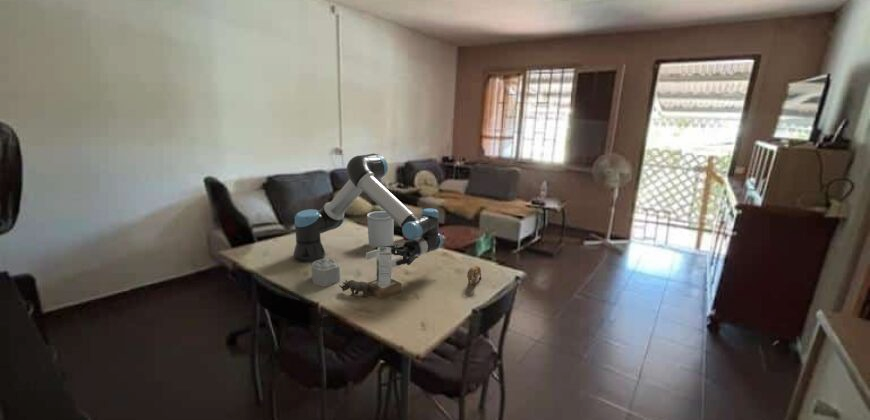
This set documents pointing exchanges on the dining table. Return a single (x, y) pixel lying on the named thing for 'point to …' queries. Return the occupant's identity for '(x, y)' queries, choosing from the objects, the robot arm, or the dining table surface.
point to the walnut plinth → (384, 289)
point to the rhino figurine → (356, 287)
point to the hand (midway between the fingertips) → (377, 260)
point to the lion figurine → (473, 274)
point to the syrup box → (383, 266)
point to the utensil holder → (380, 229)
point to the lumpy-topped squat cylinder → (325, 272)
